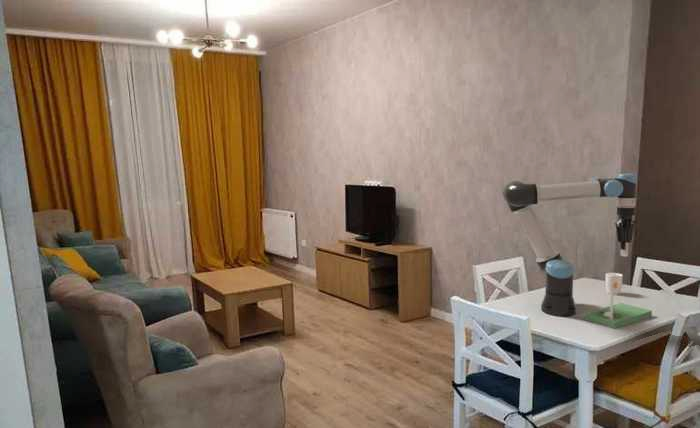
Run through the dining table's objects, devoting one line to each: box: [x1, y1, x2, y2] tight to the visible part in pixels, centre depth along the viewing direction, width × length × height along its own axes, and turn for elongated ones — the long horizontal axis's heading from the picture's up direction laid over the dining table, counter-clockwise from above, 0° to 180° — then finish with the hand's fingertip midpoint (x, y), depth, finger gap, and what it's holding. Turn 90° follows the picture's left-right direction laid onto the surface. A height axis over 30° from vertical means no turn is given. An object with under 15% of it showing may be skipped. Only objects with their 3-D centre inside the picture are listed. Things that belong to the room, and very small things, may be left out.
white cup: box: [605, 272, 624, 296], centre depth 248 cm, size 8×8×10 cm
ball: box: [603, 312, 614, 317], centre depth 207 cm, size 4×4×4 cm
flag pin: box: [609, 282, 617, 321], centre depth 200 cm, size 4×1×16 cm, turn 120°
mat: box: [583, 302, 653, 329], centre depth 210 cm, size 28×14×2 cm, turn 120°
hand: (624, 256), depth 224 cm, fingers closed
